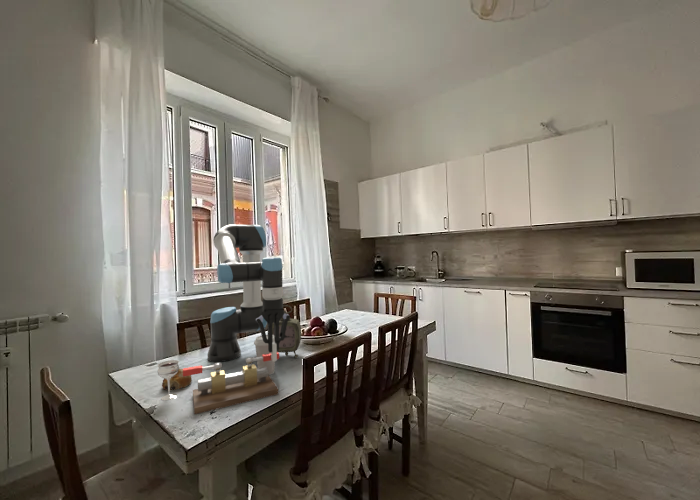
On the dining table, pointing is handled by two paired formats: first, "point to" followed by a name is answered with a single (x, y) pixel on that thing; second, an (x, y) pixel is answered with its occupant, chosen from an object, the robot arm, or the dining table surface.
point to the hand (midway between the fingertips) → (273, 360)
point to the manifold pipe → (232, 379)
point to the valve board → (233, 395)
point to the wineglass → (168, 375)
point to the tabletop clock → (289, 335)
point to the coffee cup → (263, 349)
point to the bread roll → (177, 381)
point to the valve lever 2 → (260, 358)
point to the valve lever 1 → (200, 369)
